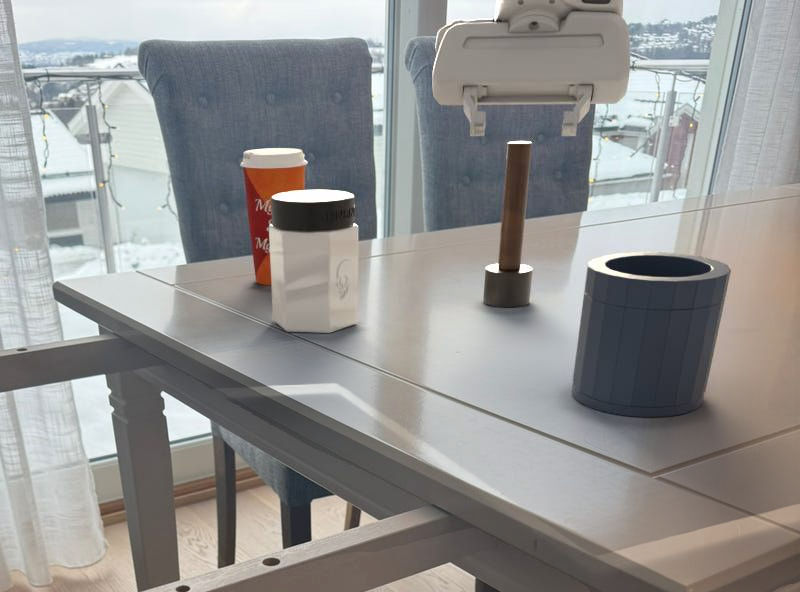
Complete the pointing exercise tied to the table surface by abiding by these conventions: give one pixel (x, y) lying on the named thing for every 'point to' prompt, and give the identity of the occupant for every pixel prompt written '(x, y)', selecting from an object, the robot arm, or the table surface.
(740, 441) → the table surface
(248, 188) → the paper cup
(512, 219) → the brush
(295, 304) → the jar
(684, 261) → the stoneware jar
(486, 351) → the table surface
